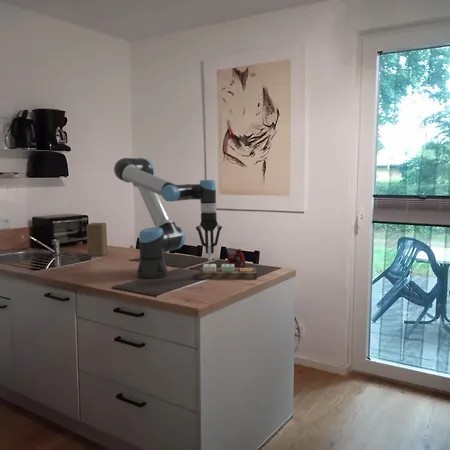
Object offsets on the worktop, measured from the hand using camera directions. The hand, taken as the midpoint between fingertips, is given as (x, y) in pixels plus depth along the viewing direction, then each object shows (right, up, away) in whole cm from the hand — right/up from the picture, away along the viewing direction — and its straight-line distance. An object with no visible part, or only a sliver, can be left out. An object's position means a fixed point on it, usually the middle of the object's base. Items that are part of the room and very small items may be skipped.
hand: (209, 259), depth 220 cm
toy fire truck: (+13, -6, +20) cm, 25 cm away
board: (+9, -8, 0) cm, 12 cm away
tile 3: (+18, -8, 0) cm, 19 cm away
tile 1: (0, -6, +1) cm, 6 cm away
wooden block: (-73, -2, +64) cm, 97 cm away
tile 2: (+9, -6, 0) cm, 11 cm away
